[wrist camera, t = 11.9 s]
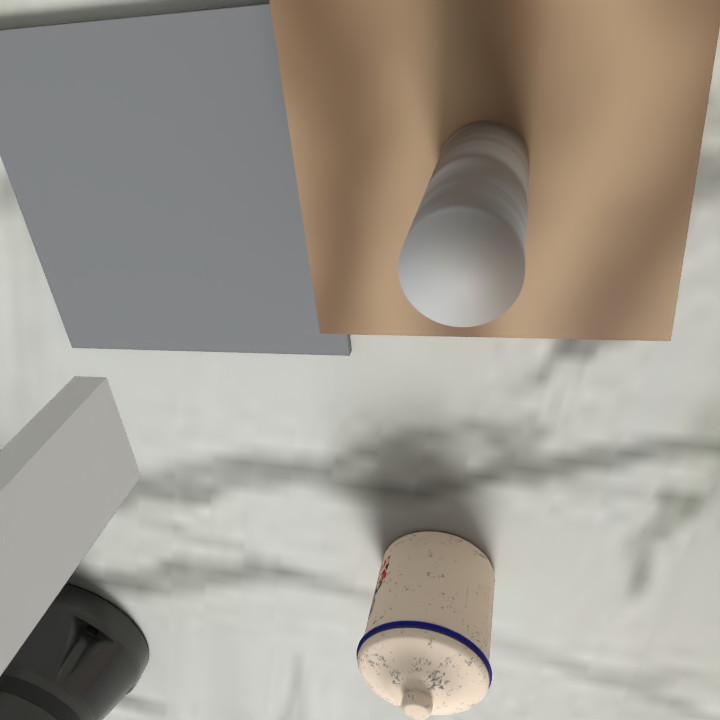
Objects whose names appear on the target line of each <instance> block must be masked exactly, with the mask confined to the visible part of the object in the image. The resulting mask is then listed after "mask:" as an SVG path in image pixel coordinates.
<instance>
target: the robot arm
mask: <svg viewBox="0 0 720 720" xmlns="http://www.w3.org/2000/svg"><path fill="white" fill-rule="evenodd" d="M140 477H141V475H140V472H139V469H138V467H137V464H136V461H135V458H134V455H133V452H132V449H131V446H130V444H129V441H128V438H127V435H126V432H125V429H124V426H123V424H122V421H121V418H120V415H119V412H118V409H117V406H116V403H115V401H114V398H113V395H112V392H111V389H110V386H109V383H108V381H107V378H106V377H80V376H75V377H74V378H73V379H72V380H71V381H70V382H69V383H68V384H67V385H66V386H65V387H64V388H63V389H62V390H61V391H60V392H59V393H58V394H57V395H56V396H55V397H54V398H53V399H52V400H51V401H50V402H49V403H48V404H47V405H46V406H45V407H44V408H43V409H42V410H41V411H40V412H39V413H38V414H37V415H36V416H35V417H34V418H33V419H32V420H31V421H30V422H29V423H28V424H27V425H26V426H25V427H24V428H23V429H22V430H21V431H20V432H19V433H18V434H17V435H16V436H15V437H14V438H13V439H12V440H11V441H10V442H9V443H8V444H7V445H6V446H5V447H4V448H3V449H2V450H1V451H0V720H103V719H104V718H105V717H106V716H107V715H108V714H109V713H110V711H111V710H112V709H113V708H114V707H115V706H116V705H117V704H118V703H119V702H120V701H121V700H122V698H123V697H124V696H125V695H126V694H128V693H129V692H130V691H131V690H132V689H133V688H134V687H135V686H136V684H137V683H138V681H139V679H140V677H141V675H142V673H143V671H144V669H145V667H146V666H147V663H148V660H149V651H148V646H147V644H146V641H145V639H144V637H143V635H142V634H141V632H140V631H139V629H138V628H137V627H136V626H135V625H134V623H133V622H132V621H131V620H130V619H129V618H128V617H127V616H126V615H124V614H123V613H122V612H121V611H120V610H118V609H117V608H116V607H114V606H113V605H111V604H110V603H108V602H107V601H105V600H103V599H102V598H100V597H98V596H96V595H94V594H92V593H90V592H87V591H85V590H82V589H80V588H77V587H74V586H71V585H67V584H66V582H67V581H68V579H69V578H70V576H71V575H72V574H73V572H74V571H75V569H76V568H77V566H78V565H79V564H80V562H81V561H82V559H83V558H84V557H85V555H86V554H87V552H88V551H89V549H90V548H91V547H92V545H93V544H94V542H95V541H96V539H97V538H98V537H99V535H100V534H101V532H102V531H103V530H104V528H105V527H106V525H107V524H108V522H109V521H110V520H111V518H112V517H113V515H114V514H115V512H116V511H117V510H118V508H119V507H120V505H121V504H122V502H123V501H124V500H125V498H126V497H127V495H128V494H129V493H130V491H131V490H132V488H133V487H134V485H135V484H136V483H137V481H138V480H139V478H140Z"/></svg>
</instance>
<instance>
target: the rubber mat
mask: <svg viewBox="0 0 720 720" xmlns="http://www.w3.org/2000/svg"><path fill="white" fill-rule="evenodd" d="M0 156H1V158H2V161H3V164H4V166H5V169H6V172H7V174H8V177H9V180H10V182H11V185H12V188H13V190H14V193H15V196H16V198H17V201H18V204H19V206H20V209H21V212H22V214H23V217H24V220H25V222H26V225H27V228H28V230H29V233H30V236H31V239H32V241H33V244H34V247H35V249H36V252H37V255H38V257H39V260H40V263H41V265H42V268H43V271H44V273H45V276H46V279H47V281H48V284H49V287H50V289H51V292H52V295H53V297H54V300H55V303H56V305H57V308H58V311H59V313H60V316H61V319H62V321H63V324H64V327H65V329H66V332H67V335H68V338H69V340H70V343H71V346H72V348H98V349H133V350H169V351H204V352H239V353H275V354H310V355H345V356H350V353H351V351H352V350H351V342H350V334H320V331H319V324H318V317H317V311H316V304H315V298H314V291H313V284H312V278H311V271H310V265H309V258H308V252H307V245H306V238H305V232H304V225H303V219H302V212H301V206H300V199H299V192H298V186H297V179H296V173H295V166H294V160H293V153H292V146H291V140H290V133H289V127H288V120H287V114H286V107H285V100H284V94H283V87H282V81H281V74H280V68H279V61H278V54H277V48H276V41H275V35H274V28H273V21H272V15H271V8H270V3H269V4H258V5H248V6H238V7H228V8H218V9H207V10H197V11H187V12H177V13H167V14H157V15H146V16H136V17H126V18H116V19H106V20H95V21H85V22H75V23H65V24H55V25H45V26H34V27H24V28H14V29H4V30H0Z"/></svg>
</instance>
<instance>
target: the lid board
mask: <svg viewBox="0 0 720 720" xmlns="http://www.w3.org/2000/svg"><path fill="white" fill-rule="evenodd" d="M269 2H270V8H271V15H272V21H273V28H274V35H275V41H276V48H277V54H278V61H279V68H280V74H281V81H282V87H283V94H284V100H285V107H286V114H287V120H288V127H289V133H290V140H291V146H292V153H293V160H294V166H295V173H296V179H297V186H298V192H299V199H300V206H301V212H302V219H303V225H304V232H305V238H306V245H307V252H308V258H309V265H310V271H311V278H312V284H313V291H314V298H315V304H316V311H317V317H318V324H319V331H320V334H358V335H406V336H454V337H502V338H549V339H597V340H645V341H671V335H672V329H673V322H674V316H675V310H676V303H677V297H678V290H679V284H680V277H681V271H682V265H683V258H684V252H685V245H686V239H687V233H688V226H689V220H690V213H691V207H692V200H693V194H694V188H695V181H696V175H697V168H698V162H699V156H700V149H701V143H702V136H703V130H704V124H705V117H706V111H707V104H708V98H709V91H710V85H711V79H712V72H713V66H714V59H715V53H716V47H717V40H718V34H719V27H720V0H269Z"/></svg>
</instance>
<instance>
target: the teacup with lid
mask: <svg viewBox="0 0 720 720" xmlns="http://www.w3.org/2000/svg"><path fill="white" fill-rule="evenodd" d="M494 583H495V576H494V571H493V568H492V565H491V563H490V561H489V560H488V558H487V557H486V556H485V555H484V554H483V553H482V552H481V551H480V550H479V549H478V548H477V547H476V546H474V545H473V544H471V543H470V542H468V541H466V540H464V539H462V538H460V537H457V536H454V535H451V534H448V533H443V532H435V531H423V532H416V533H411V534H408V535H405V536H403V537H401V538H399V539H398V540H396V541H395V542H393V543H392V544H391V545H390V546H389V548H388V549H387V550H386V552H385V554H384V557H383V560H382V565H381V569H380V573H379V577H378V581H377V585H376V589H375V593H374V597H373V602H372V606H371V610H370V614H369V618H368V622H367V626H366V630H365V634H364V636H363V638H362V639H361V640H360V642H359V645H358V648H357V662H358V667H359V670H360V673H361V675H362V677H363V679H364V681H365V682H366V683H367V685H368V686H369V687H370V688H371V689H372V690H373V691H374V692H375V693H376V694H378V695H379V696H380V697H382V698H383V699H385V700H386V701H388V702H390V703H392V704H394V705H396V706H398V707H401V708H402V710H403V712H404V713H405V714H406V715H407V716H409V717H411V718H413V719H418V720H422V719H426V718H428V717H429V716H430V715H449V714H455V713H460V712H463V711H466V710H468V709H470V708H472V707H474V706H475V705H477V704H478V703H479V702H480V701H481V700H482V699H483V698H484V696H485V695H486V693H487V691H488V689H489V687H490V685H491V681H492V670H491V666H490V664H489V656H490V642H491V627H492V613H493V598H494Z"/></svg>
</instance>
